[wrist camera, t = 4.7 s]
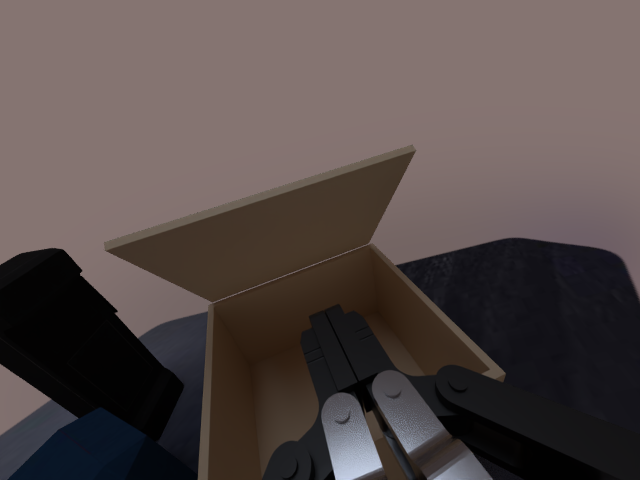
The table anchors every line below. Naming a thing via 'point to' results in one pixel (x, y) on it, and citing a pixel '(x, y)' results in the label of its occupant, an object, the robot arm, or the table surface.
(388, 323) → the kraft carton
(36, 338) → the portable radio
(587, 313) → the table surface
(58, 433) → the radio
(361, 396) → the robot arm
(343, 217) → the carton flap
